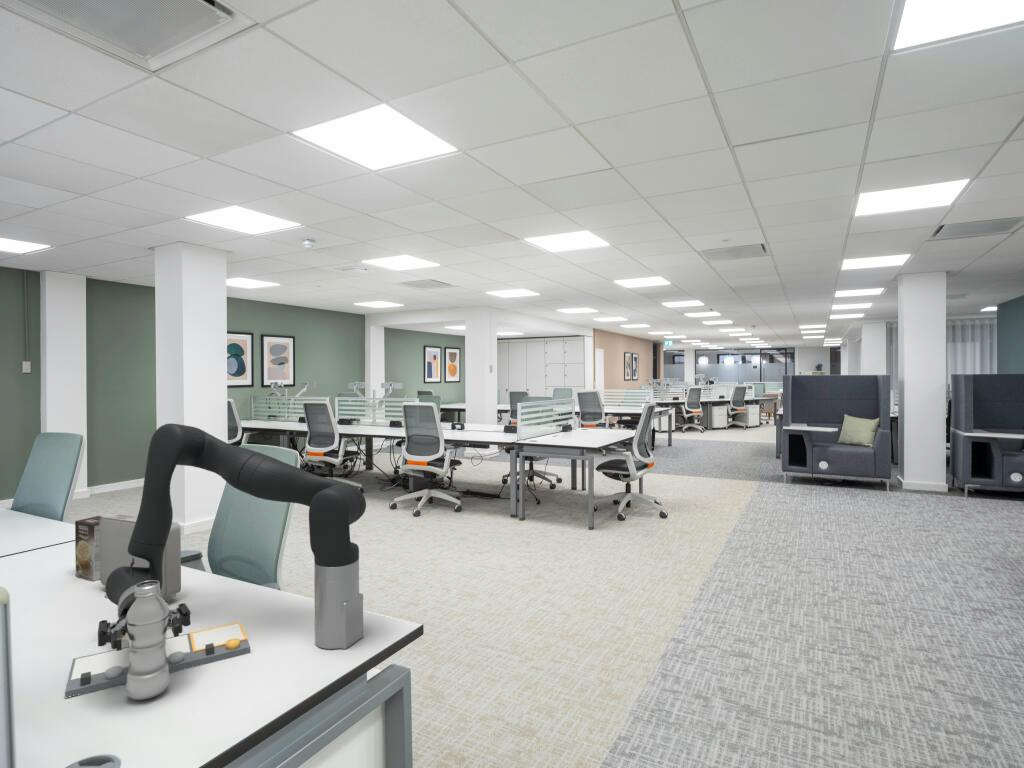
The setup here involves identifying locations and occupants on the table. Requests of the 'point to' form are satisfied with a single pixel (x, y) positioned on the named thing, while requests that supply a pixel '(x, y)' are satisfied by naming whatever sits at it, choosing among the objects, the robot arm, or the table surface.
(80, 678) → the board
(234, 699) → the table surface
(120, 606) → the robot arm
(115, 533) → the network device
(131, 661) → the plastic bottle
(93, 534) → the coffee box
